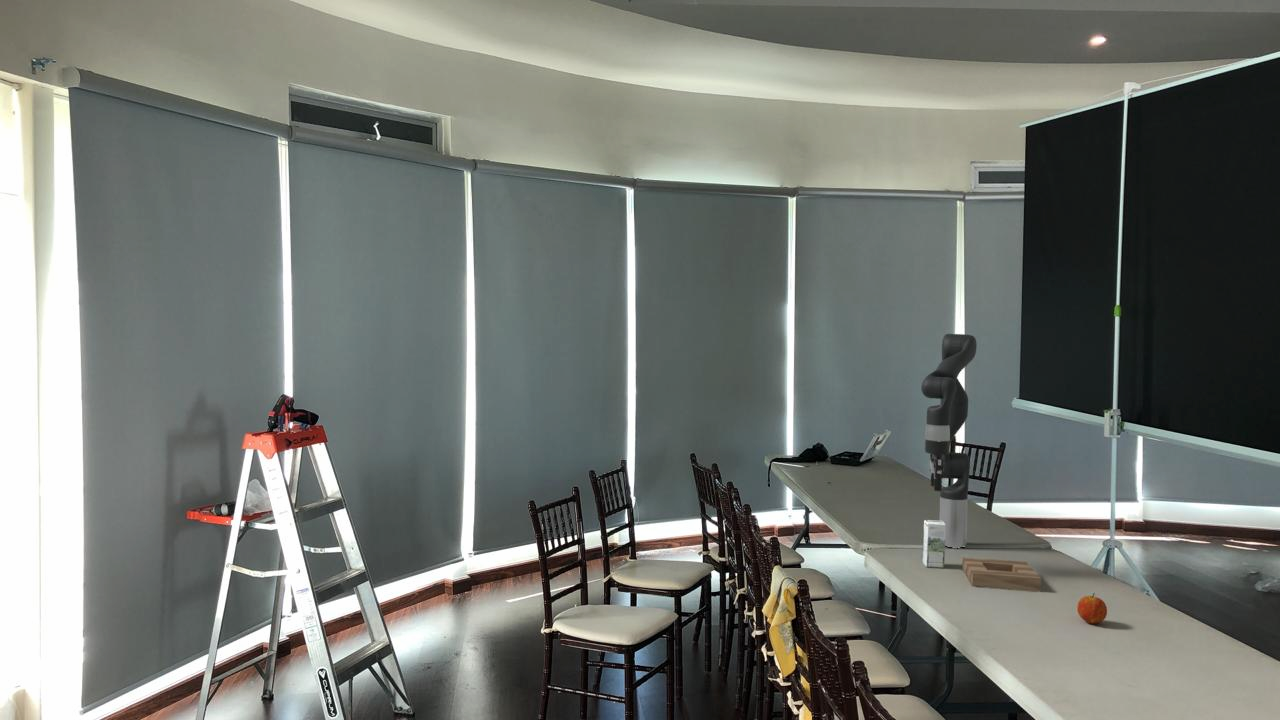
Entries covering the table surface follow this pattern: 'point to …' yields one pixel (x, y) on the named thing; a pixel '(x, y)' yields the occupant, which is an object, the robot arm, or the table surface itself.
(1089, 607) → the fruit
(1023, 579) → the socket block
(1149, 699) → the table surface
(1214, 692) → the table surface
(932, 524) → the syrup box
